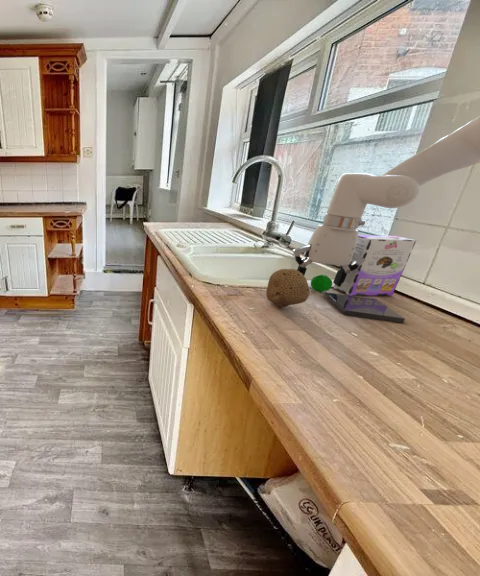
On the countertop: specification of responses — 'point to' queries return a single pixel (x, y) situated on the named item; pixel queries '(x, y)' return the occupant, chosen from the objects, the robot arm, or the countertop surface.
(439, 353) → the countertop surface
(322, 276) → the polyhedron
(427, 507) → the countertop surface
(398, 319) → the board
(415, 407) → the countertop surface
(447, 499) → the countertop surface
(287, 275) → the natural sponge
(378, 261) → the candy box
